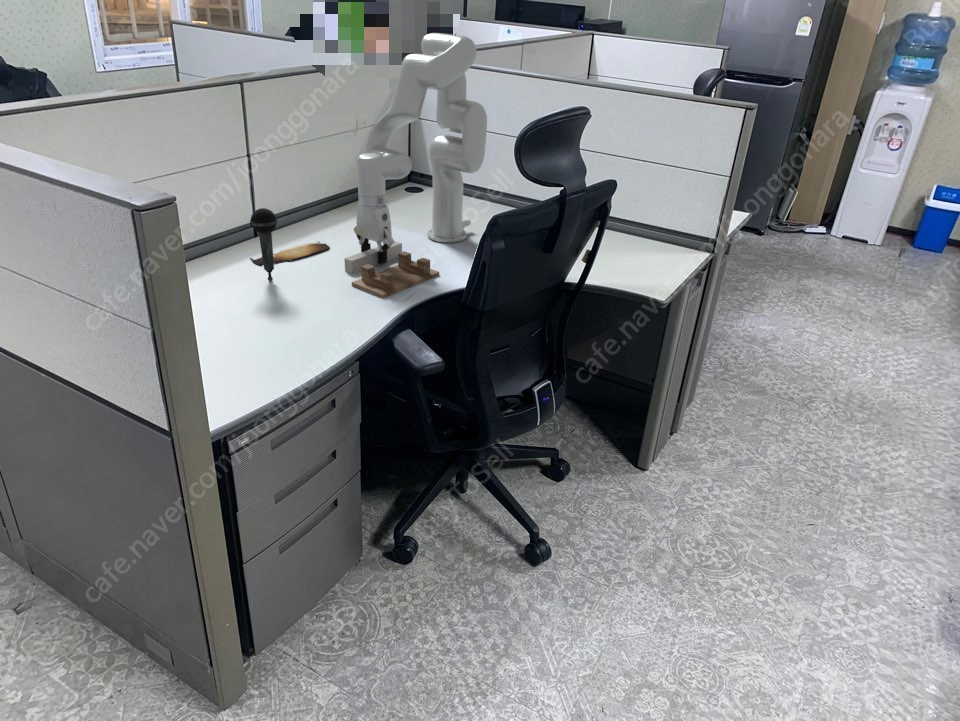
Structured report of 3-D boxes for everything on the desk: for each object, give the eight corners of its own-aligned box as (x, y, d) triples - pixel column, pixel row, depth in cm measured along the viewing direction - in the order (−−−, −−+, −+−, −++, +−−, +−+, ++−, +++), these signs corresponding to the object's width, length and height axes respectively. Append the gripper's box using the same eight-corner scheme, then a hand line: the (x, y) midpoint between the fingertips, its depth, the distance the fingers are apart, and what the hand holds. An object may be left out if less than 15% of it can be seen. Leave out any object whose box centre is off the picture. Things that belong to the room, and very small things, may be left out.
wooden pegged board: (408, 264, 209) (408, 247, 207) (439, 275, 203) (439, 258, 200) (351, 285, 194) (350, 268, 192) (383, 298, 188) (382, 280, 185)
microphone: (260, 287, 191) (251, 214, 181) (254, 278, 196) (245, 206, 186) (286, 283, 193) (279, 211, 184) (280, 274, 199) (272, 203, 189)
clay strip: (394, 253, 217) (394, 240, 215) (402, 256, 216) (401, 243, 214) (345, 271, 203) (344, 258, 201) (352, 274, 202) (351, 261, 200)
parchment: (318, 241, 224) (318, 238, 223) (337, 249, 218) (337, 246, 217) (246, 261, 208) (246, 258, 208) (264, 270, 202) (264, 267, 202)
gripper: (403, 203, 198) (404, 264, 207) (360, 190, 208) (363, 249, 216) (384, 209, 193) (386, 271, 202) (341, 196, 202) (344, 256, 211)
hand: (374, 259), depth 209 cm, fingers open, 6 cm apart
